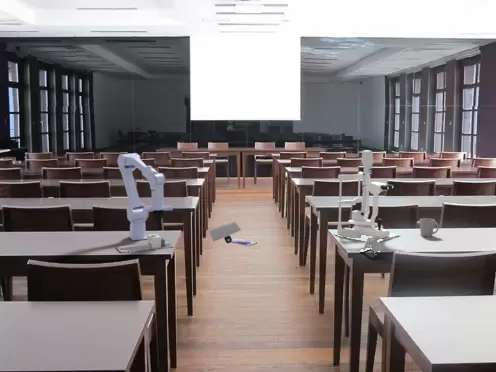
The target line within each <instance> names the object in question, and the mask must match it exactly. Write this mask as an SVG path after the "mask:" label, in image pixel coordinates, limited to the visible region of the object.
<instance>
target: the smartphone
mask: <svg viewBox="0 0 496 372" xmlns="http://www.w3.org/2000/svg"><path fill="white" fill-rule="evenodd" d="M231 239H232V242H231V243H232V244H237V245H241V246H245V247H252V246H254V245H257V244H258V242H256V241H253V240H247V239H243V238H237V237H234V238H231Z"/></svg>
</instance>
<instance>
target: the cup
mask: <svg viewBox="0 0 496 372" xmlns="http://www.w3.org/2000/svg"><path fill="white" fill-rule="evenodd" d="M435 225H436V231H434V228H435ZM419 229H420V230H419V231H420V235H421V236H422V237H425V236H431V237H432V236H433V235H434V234H436V233H438V232H439V223H438V222H436V220H435V219H434V218H428V217H425V218H424V217H423V218H420V219H419Z"/></svg>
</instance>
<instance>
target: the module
mask: <svg viewBox="0 0 496 372" xmlns="http://www.w3.org/2000/svg"><path fill="white" fill-rule="evenodd" d="M147 238H148V239H147V244H148V243H150V244H151V248H158V247H161V238H162V237H161V236H160V235H159V234H158V233H153V234H147Z"/></svg>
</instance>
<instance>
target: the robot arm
mask: <svg viewBox="0 0 496 372" xmlns="http://www.w3.org/2000/svg"><path fill="white" fill-rule="evenodd" d="M116 161H117V165H118V169H119V172H120V173H121V177H122V180H123V184H124V188H125V191H126V195H127V198H128V202H129V205H128V206H127V207H126V216H127V217H126V218H127V220H128V221H129V222H130V225H129V232H130V233H129V234H130V235H128V238H130V239H131V240H132V241H140V240H141V241H142V240H148V236H146V235H147V234H146V221H147V219H148V218H149V214H150V213H149V212H151V215H152V216H153V217H154V220H155V221H154V222H155V226H157V227H160V226H161V222H162V219H163V216H164V215H165V211H173V210H174V209H173V207H174V206H173V205H164V202H165V201H164V185H165V184H166V179H167V178H166V176H165V174H164V173H163V172H158V171H157V170H155V169H154V168H153V166H152V165H147V164H146V163H145V162H143V160H142V159H141V156H140V155H139V154H138V153H137V152H134V153H120V154H119V155H118V157H117V160H116ZM136 169H138V170H139V171H141V175H142V176H143V177H144V178H145V179H147V180H148V183H149V186H150V187H149V189H150V190H151V206H148V207H147V206H146V204H145V203H143V202H142V201H141V199H140V196H139V193H138V189H137V186H136V183H135V178H134V176H133V172H134V171H135V170H136Z"/></svg>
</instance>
